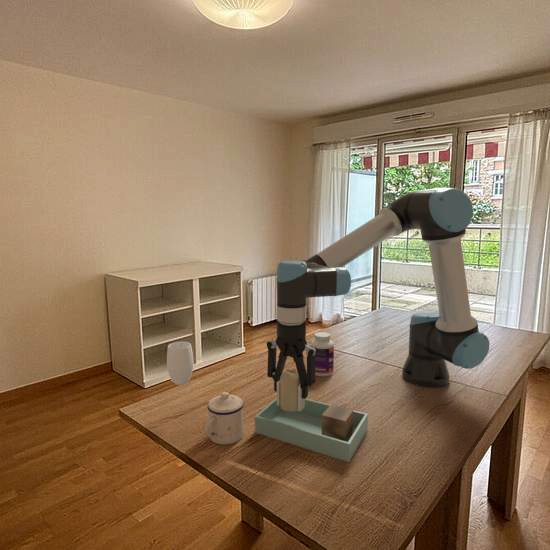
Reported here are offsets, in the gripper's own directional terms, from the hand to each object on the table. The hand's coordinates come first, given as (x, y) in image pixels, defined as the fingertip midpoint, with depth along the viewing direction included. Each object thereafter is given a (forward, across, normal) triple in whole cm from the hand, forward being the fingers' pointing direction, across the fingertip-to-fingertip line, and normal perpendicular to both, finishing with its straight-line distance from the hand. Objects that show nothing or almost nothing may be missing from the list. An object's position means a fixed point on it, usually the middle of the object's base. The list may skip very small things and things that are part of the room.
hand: (290, 405), depth 103 cm
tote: (+6, -6, 0) cm, 9 cm away
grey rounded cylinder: (+7, +30, +9) cm, 32 cm away
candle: (+1, 0, 0) cm, 1 cm away
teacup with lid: (+6, +13, +13) cm, 19 cm away
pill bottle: (+6, +6, -37) cm, 38 cm away
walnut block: (+6, -13, 0) cm, 14 cm away
